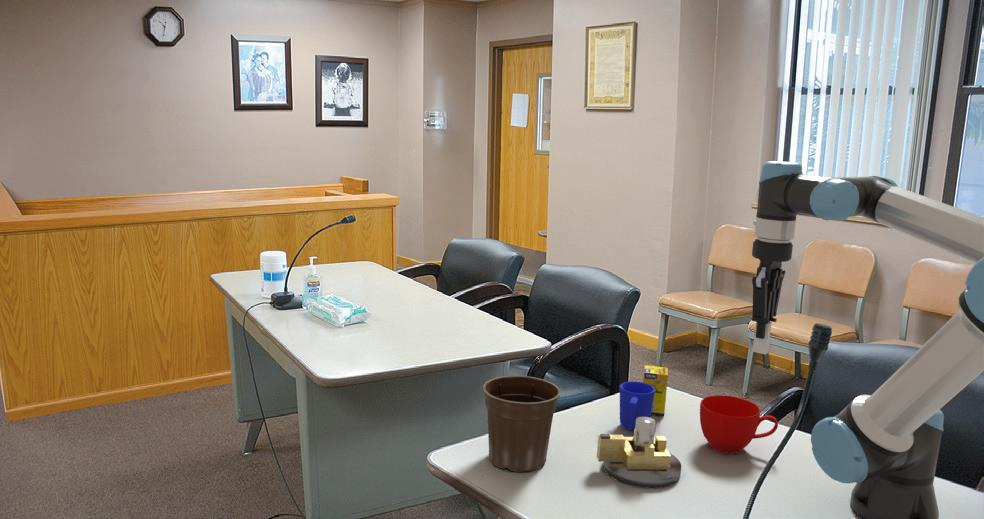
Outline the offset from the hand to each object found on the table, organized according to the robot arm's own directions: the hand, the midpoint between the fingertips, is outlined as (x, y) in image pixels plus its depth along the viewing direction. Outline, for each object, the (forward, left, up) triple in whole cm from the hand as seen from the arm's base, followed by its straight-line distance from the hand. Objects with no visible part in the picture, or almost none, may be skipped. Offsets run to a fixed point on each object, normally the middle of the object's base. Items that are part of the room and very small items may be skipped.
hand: (760, 352), depth 160 cm
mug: (+28, -2, -27) cm, 39 cm away
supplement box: (+30, -16, -27) cm, 43 cm away
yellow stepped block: (+19, +17, -24) cm, 35 cm away
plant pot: (+39, +29, -27) cm, 55 cm away
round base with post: (+17, +15, -26) cm, 35 cm away
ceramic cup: (+6, -9, -27) cm, 29 cm away
